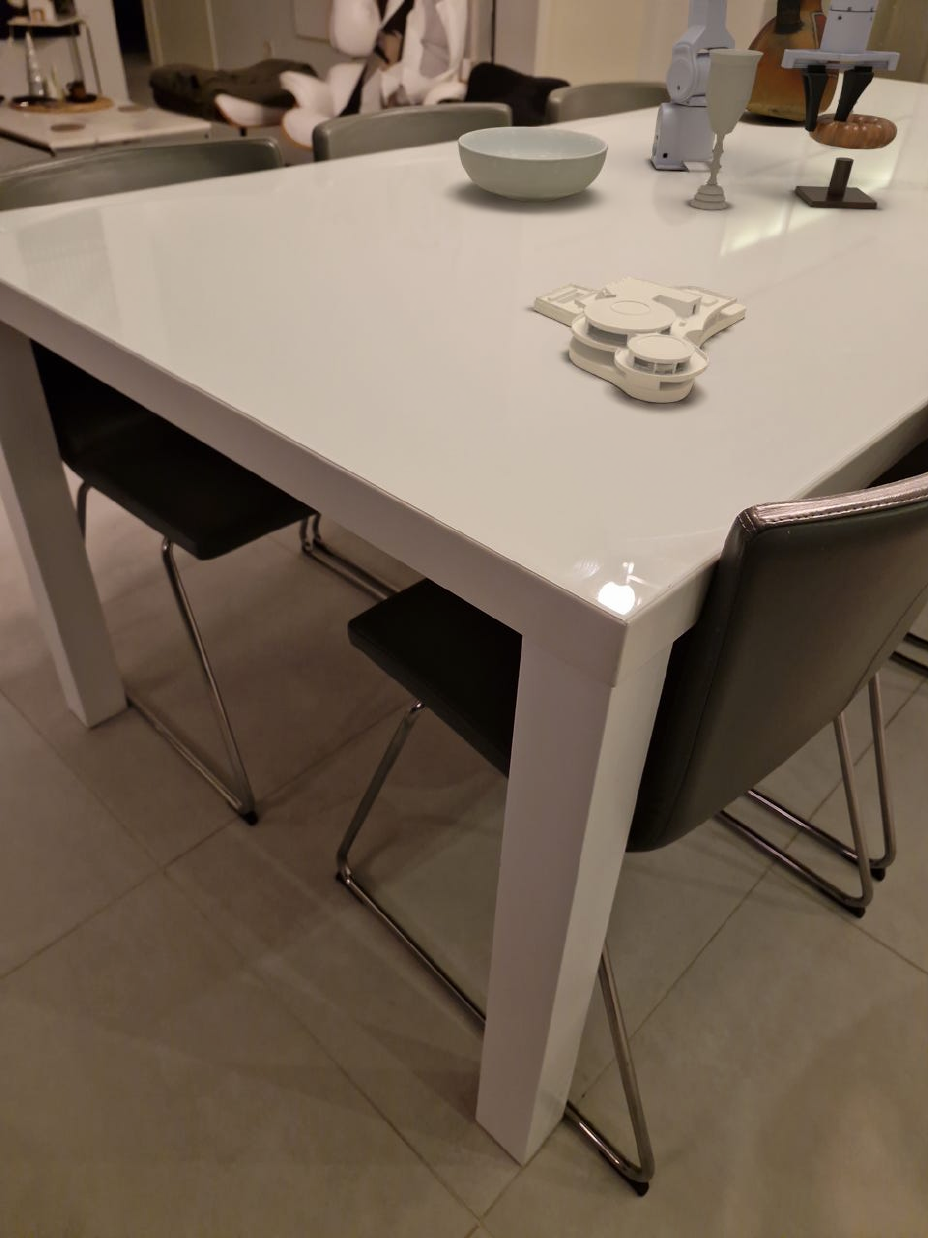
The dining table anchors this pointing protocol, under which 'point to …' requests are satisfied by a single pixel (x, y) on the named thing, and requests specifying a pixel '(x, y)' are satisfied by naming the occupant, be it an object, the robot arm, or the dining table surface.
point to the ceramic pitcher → (774, 83)
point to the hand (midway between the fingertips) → (822, 130)
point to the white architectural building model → (641, 332)
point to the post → (837, 190)
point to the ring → (854, 131)
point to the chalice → (725, 110)
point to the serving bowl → (532, 161)
